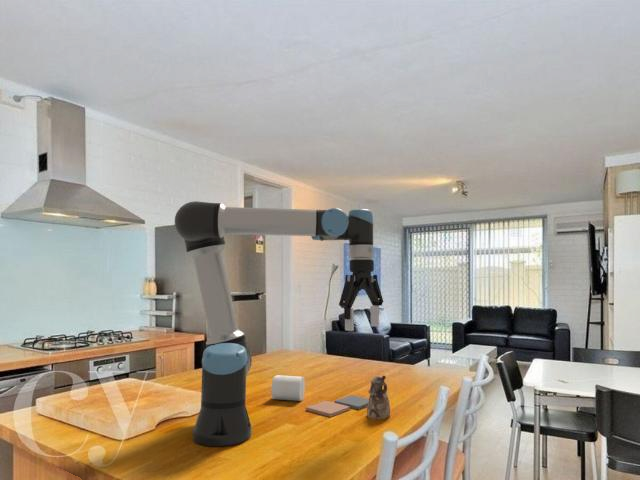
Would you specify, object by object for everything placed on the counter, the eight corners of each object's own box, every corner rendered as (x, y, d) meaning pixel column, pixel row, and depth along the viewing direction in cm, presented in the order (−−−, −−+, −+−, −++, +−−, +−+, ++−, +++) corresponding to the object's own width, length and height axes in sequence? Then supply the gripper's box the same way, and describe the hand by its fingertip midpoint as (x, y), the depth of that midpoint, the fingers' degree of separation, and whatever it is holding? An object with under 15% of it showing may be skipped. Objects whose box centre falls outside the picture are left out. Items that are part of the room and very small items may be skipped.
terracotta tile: (330, 417, 135) (330, 413, 135) (305, 410, 141) (306, 407, 141) (349, 409, 142) (349, 406, 143) (325, 403, 149) (325, 400, 149)
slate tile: (358, 409, 143) (358, 406, 143) (334, 403, 149) (334, 400, 149) (375, 403, 150) (375, 400, 150) (351, 397, 157) (351, 394, 157)
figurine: (362, 413, 139) (363, 374, 140) (382, 411, 142) (382, 372, 143) (374, 420, 132) (374, 379, 133) (394, 417, 135) (394, 377, 136)
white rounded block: (299, 403, 149) (299, 379, 149) (270, 401, 151) (271, 377, 151) (307, 394, 161) (307, 372, 161) (280, 392, 163) (281, 370, 163)
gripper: (347, 257, 126) (348, 333, 124) (393, 259, 145) (394, 325, 143) (326, 258, 131) (327, 331, 129) (373, 260, 150) (374, 323, 148)
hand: (362, 328), depth 136 cm, fingers open, 13 cm apart
